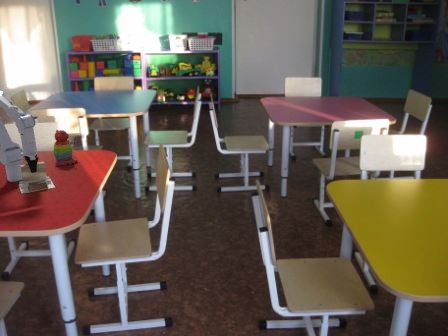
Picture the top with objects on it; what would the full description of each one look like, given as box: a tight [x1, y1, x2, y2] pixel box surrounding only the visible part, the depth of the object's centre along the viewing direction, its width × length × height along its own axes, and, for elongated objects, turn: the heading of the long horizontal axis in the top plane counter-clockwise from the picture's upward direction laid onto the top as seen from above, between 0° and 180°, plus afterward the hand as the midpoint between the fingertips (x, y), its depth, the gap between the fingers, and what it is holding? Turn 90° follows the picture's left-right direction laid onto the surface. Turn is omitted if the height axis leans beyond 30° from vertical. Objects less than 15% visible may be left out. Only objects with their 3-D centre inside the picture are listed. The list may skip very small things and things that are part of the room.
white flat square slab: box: [18, 176, 56, 195], centre depth 209 cm, size 14×14×3 cm
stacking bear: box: [53, 129, 78, 166], centre depth 244 cm, size 11×10×18 cm
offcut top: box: [28, 180, 46, 188], centre depth 204 cm, size 3×7×2 cm, turn 119°
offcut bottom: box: [28, 183, 48, 193], centre depth 205 cm, size 3×8×2 cm, turn 119°
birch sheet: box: [20, 161, 48, 182], centre depth 210 cm, size 3×10×7 cm, turn 119°
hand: (33, 171), depth 210 cm, fingers closed on birch sheet, 3 cm apart
